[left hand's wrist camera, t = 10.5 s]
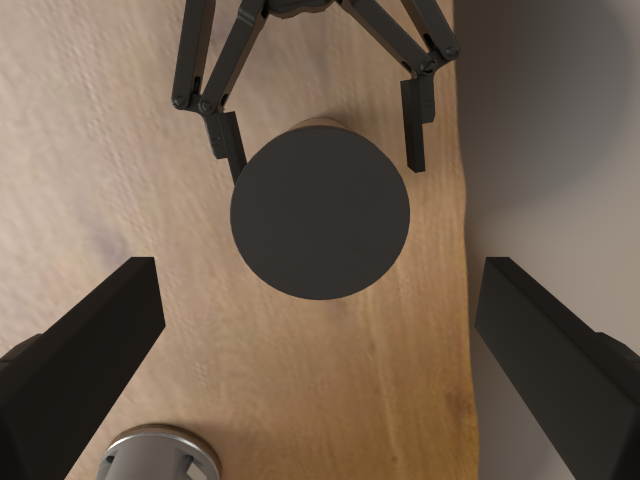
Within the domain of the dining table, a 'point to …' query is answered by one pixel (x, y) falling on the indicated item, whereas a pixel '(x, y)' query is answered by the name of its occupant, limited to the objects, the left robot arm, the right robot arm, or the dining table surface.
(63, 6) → the dining table surface
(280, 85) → the dining table surface
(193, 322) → the dining table surface
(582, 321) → the left robot arm
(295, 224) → the lid
